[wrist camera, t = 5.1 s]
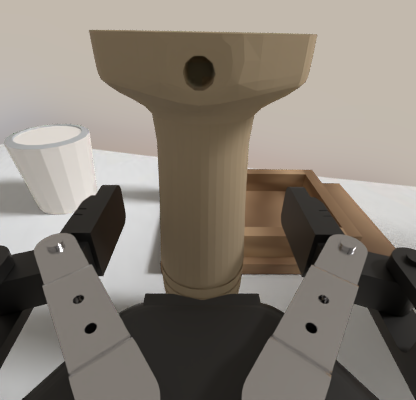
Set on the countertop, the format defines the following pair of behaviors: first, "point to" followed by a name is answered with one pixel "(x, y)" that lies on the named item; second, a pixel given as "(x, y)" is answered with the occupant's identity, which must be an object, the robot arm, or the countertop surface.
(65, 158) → the white faceted cup
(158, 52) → the handle
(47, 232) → the countertop surface
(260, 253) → the seat board
